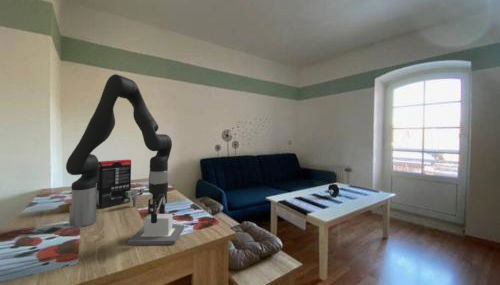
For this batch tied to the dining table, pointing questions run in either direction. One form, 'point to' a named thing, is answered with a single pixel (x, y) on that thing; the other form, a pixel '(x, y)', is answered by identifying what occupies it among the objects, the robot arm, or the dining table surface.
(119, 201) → the graphics card box
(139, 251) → the dining table surface
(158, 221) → the plug housing
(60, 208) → the sunglasses
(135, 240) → the header board
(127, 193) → the mechanical component
